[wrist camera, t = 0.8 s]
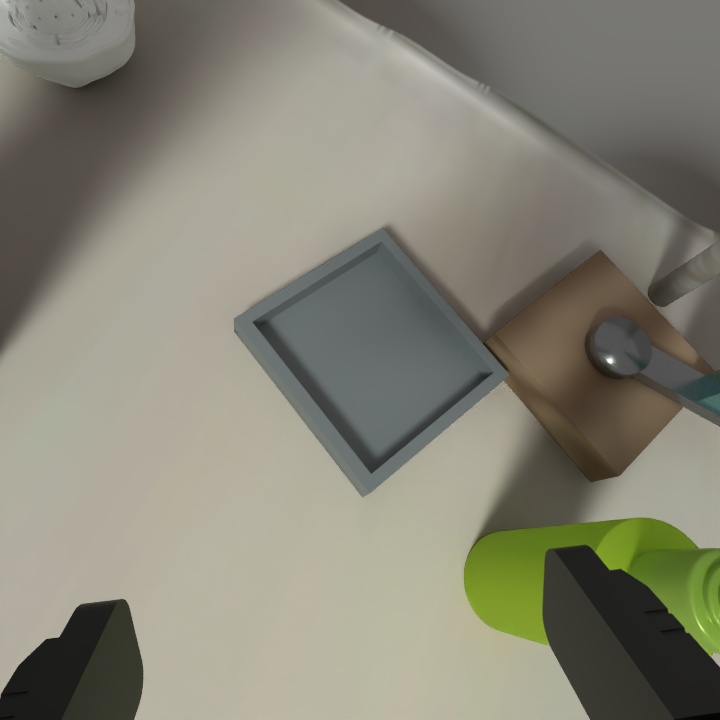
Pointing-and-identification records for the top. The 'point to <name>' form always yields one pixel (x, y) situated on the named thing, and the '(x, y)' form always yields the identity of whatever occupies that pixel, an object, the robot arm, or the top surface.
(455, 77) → the top surface
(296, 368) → the tray
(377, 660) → the top surface
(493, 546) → the soap dispenser
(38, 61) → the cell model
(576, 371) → the crank base
